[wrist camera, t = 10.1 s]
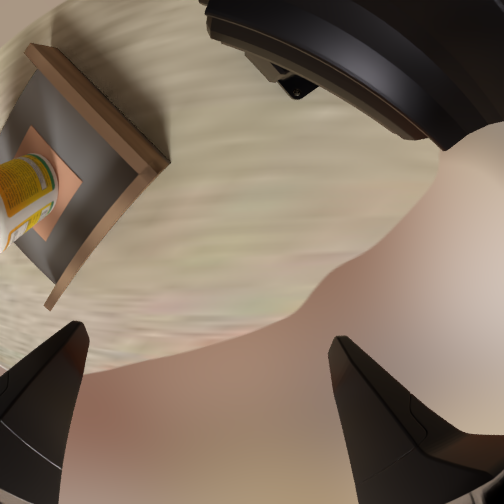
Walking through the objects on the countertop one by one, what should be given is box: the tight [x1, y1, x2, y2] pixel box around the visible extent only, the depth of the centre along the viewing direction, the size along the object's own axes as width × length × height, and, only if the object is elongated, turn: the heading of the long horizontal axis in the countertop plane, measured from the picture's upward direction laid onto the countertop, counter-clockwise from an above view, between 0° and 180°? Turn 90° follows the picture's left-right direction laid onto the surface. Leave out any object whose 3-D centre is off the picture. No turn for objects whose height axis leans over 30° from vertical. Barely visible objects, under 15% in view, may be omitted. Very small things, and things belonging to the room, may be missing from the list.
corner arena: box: [0, 43, 171, 311], centre depth 15 cm, size 16×14×4 cm
